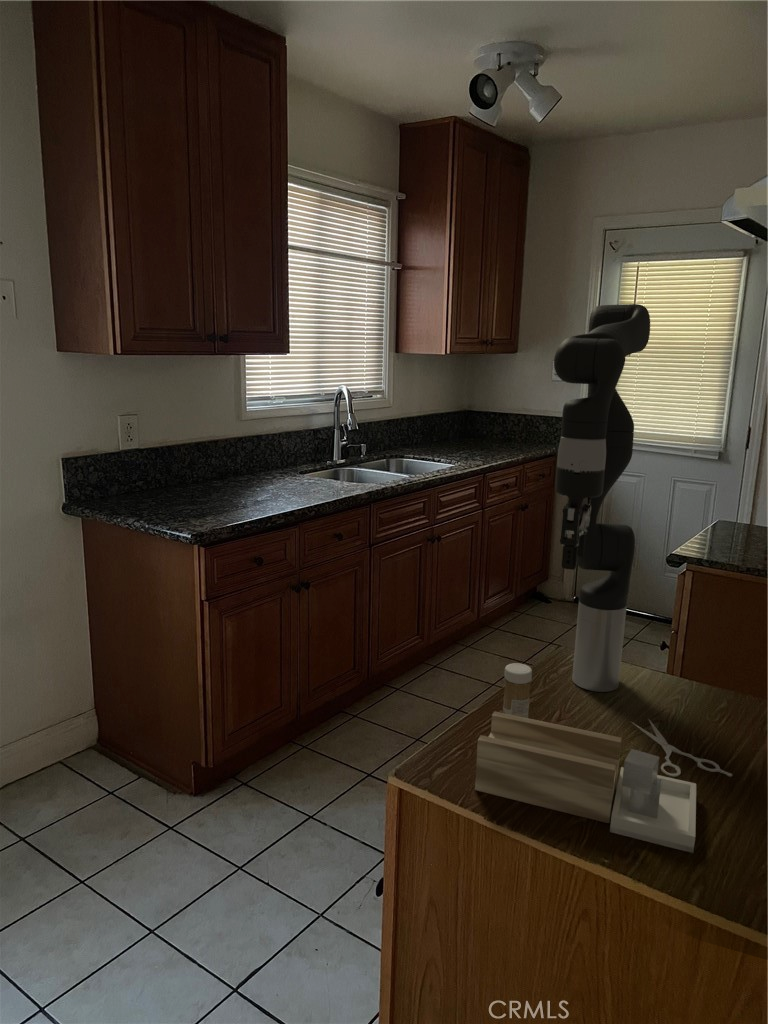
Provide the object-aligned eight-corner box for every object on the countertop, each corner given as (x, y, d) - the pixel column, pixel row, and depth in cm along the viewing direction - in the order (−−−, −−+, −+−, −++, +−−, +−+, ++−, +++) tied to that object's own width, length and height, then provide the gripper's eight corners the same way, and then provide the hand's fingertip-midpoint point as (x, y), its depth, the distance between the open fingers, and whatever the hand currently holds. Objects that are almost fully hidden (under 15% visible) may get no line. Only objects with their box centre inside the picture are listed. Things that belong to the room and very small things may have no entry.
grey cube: (629, 772, 113) (631, 748, 113) (656, 781, 111) (659, 756, 111) (621, 785, 110) (624, 760, 109) (650, 794, 108) (652, 769, 107)
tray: (619, 781, 120) (621, 766, 119) (694, 798, 116) (696, 783, 115) (609, 831, 107) (611, 816, 107) (693, 853, 103) (695, 836, 103)
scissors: (673, 780, 120) (611, 719, 139) (673, 785, 120) (611, 723, 139) (732, 775, 122) (664, 715, 141) (732, 779, 122) (663, 719, 141)
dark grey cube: (633, 773, 113) (661, 779, 112) (630, 796, 114) (658, 803, 113) (630, 786, 110) (659, 793, 108) (628, 811, 111) (657, 818, 109)
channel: (491, 758, 126) (494, 711, 124) (616, 787, 118) (621, 737, 116) (474, 789, 116) (477, 739, 115) (609, 823, 109) (614, 770, 107)
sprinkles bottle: (498, 732, 134) (503, 661, 131) (524, 733, 134) (529, 662, 131) (502, 746, 129) (507, 673, 126) (529, 746, 129) (534, 673, 126)
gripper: (564, 457, 130) (557, 549, 133) (549, 469, 117) (541, 570, 121) (609, 461, 127) (601, 554, 131) (599, 473, 114) (590, 576, 118)
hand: (572, 561), depth 126 cm, fingers open, 8 cm apart
